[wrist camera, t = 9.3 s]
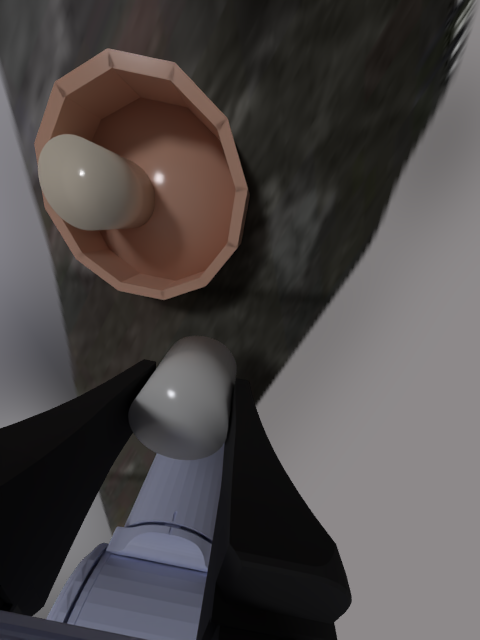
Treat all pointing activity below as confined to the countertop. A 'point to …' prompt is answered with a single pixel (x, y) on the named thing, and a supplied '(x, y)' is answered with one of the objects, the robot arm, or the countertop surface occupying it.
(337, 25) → the countertop surface
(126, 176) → the pebble
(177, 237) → the bowl
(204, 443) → the pebble
